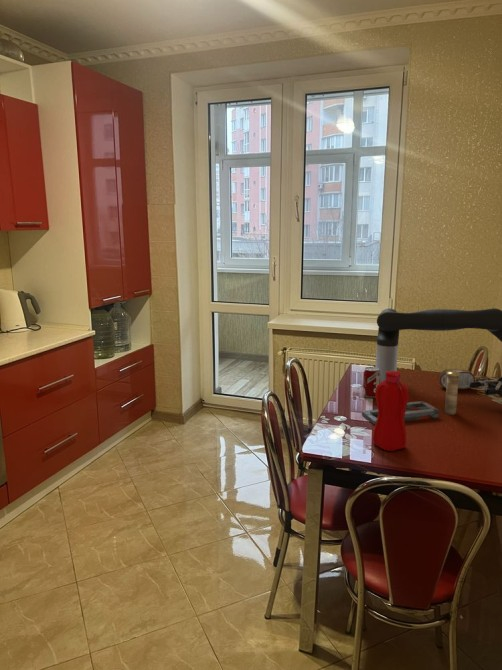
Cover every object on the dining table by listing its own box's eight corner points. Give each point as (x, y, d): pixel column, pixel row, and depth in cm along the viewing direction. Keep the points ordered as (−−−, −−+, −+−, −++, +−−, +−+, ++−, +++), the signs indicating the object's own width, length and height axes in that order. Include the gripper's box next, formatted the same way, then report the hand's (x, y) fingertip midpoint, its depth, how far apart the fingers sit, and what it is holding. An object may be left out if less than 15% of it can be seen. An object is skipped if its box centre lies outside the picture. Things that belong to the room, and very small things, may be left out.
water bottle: (390, 456, 148) (394, 379, 143) (368, 442, 158) (371, 369, 153) (414, 450, 152) (419, 375, 146) (391, 437, 162) (395, 366, 156)
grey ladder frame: (374, 425, 172) (374, 417, 171) (361, 414, 181) (362, 407, 181) (438, 417, 177) (439, 410, 177) (423, 408, 187) (423, 400, 186)
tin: (472, 387, 210) (474, 369, 208) (475, 390, 207) (476, 371, 205) (437, 387, 211) (438, 368, 210) (439, 389, 208) (440, 370, 206)
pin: (440, 411, 184) (443, 371, 180) (451, 410, 185) (454, 370, 181) (448, 415, 179) (451, 375, 176) (459, 414, 180) (463, 373, 177)
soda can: (361, 397, 199) (362, 370, 197) (364, 392, 205) (365, 365, 203) (378, 399, 197) (379, 371, 194) (380, 394, 203) (381, 367, 200)
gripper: (501, 370, 192) (466, 373, 188) (529, 381, 178) (491, 385, 175) (499, 388, 194) (464, 392, 190) (526, 400, 180) (489, 404, 176)
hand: (477, 388), depth 182 cm, fingers open, 8 cm apart
